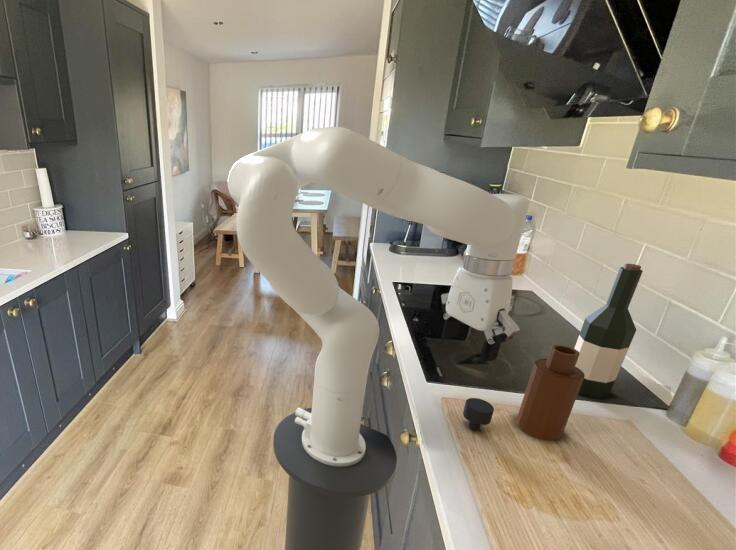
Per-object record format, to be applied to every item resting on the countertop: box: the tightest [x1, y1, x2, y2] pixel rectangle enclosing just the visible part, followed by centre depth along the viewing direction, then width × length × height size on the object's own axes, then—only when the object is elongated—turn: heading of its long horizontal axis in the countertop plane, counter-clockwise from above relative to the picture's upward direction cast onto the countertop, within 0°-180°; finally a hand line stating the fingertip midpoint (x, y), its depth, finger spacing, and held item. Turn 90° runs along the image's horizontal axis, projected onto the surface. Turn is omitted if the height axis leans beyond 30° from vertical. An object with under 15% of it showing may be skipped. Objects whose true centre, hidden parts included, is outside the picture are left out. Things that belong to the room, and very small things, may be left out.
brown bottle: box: [515, 344, 584, 441], centre depth 77 cm, size 7×7×18 cm
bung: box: [462, 397, 495, 431], centre depth 80 cm, size 5×5×6 cm
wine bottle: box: [573, 263, 644, 399], centre depth 87 cm, size 8×8×30 cm
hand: (467, 348), depth 78 cm, fingers open, 9 cm apart
